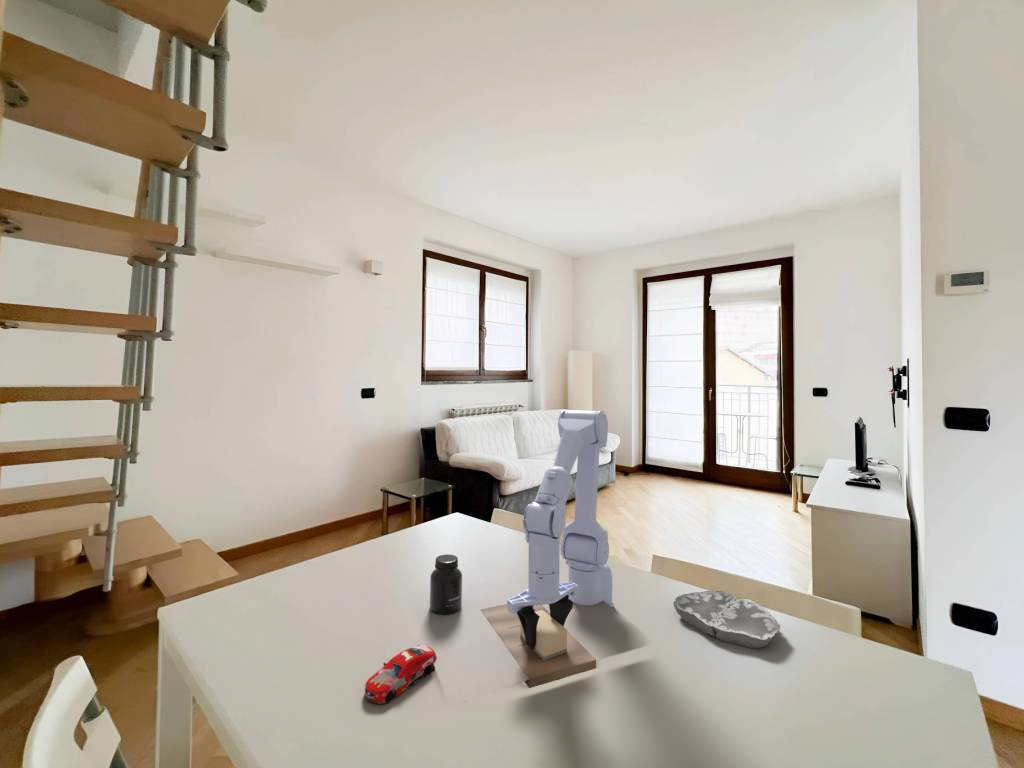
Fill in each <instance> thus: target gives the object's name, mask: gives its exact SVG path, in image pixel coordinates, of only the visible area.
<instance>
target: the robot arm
mask: <svg viewBox="0 0 1024 768" xmlns="http://www.w3.org/2000/svg"><path fill="white" fill-rule="evenodd" d="M557 419H558V420H557V428H558V429H557V430H558V435H559V443H558V447H557V451H556V455H555V458H554V462H553V466H552V467H550V468H548V469H546V470H545V472H544V474H543V477H542V480H541V483H540V485H539V488H538V490H537V494H536V497H535V498H534V501H532V502H531V503H529V504H528V505H526V508H525V510H524V513H523V518H522V528H523V531H524V533H525V542H526V543H527V544H528V571H527V572H528V575H527V576H528V577H527V578H528V581H527V583H528V588H527V589H525V590H523V591H522V592H520V593H518V594H516V595H514V596H513V597H510V598H507V599H506V604H507V610H508V611H509V612H510V613H511V614H516V613H517V615H518V617H519V619H520V622H521V624H522V627H523V631H524V635H525V639H526V644H527V645H528V646H529V647H530V648H531V649H535V646H536V630H537V624H538V620H539V617H540V616H539V615H537V614H536V613H535V609H533V606H536V605H542V606H544V605H548V607H549V613H550V616H551V617H552V618H553V619H554V620H556V621H557V622H558V623H559V624H561V625H562V626H563V627H564V628H565V623H566V621H567V618H568V616H569V614H570V612H571V611H572V609H573V607H574V604H576V605H581V606H594V605H597V604H599V603H601V602H604V603H605V604H606V605H608V606H609V607H610V608H614V607H615V604H614V602H613V573H612V569H611V567H610V566H609V564H608V560H609V555H610V554H609V553H610V544H609V534H608V530H607V529H605V528H604V526H602V525H601V524H600V523H599V522H598V521H597V511H598V510H597V506H598V505H597V504H598V489H599V488H598V485H599V484H598V483H599V463H600V460H599V459H600V453H601V452H600V451H601V449H603V448H606V447H607V443H608V434H609V433H608V431H609V429H608V428H609V423H608V422H609V420H608V417H607V415H606V413H605V411H604V410H601V409H600V410H582V409H580V410H577V409H568V408H565V409H563V410H562V411H560V413H559V416H558V418H557ZM576 461H577V463H576ZM575 463H576V465H577V466H576V480H575V483H576V484H575V501H574V502H575V503H574V504H575V505H574V518H573V519H574V520H572V521H570V522H569V523H567V524H566V515H567V514H566V513H567V507H566V504H567V500H568V499H569V495H570V493H571V489H572V486H573V484H574V483H573V481H574V480H573V478H572V475H571V471H572V470H573V467H574V466H575ZM561 536H562V538H561V541H560V537H561ZM560 555H561V556H562V559H564V560H565V565H568V582H560Z"/></svg>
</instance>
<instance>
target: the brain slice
mask: <svg viewBox="0 0 1024 768" xmlns="http://www.w3.org/2000/svg"><path fill="white" fill-rule="evenodd" d="M673 607H674V609H675V612H676V613H677V614H678V615H679V616H680V617H681V619H682V620H683V621H684V622H685V623H688V625H690V626H693V627H694V628H696V629H697V630H699V631H701V632H702V633H704V634H706V635H708V636H711V637H714V638H716V639H718V640H719V641H722V642H725V643H730V644H735V645H738V646H741V647H745V648H751V649H760V648H763V647H765V646H767V644H770V642H771V641H772V640H773V639H774V638H775V636H776V634H777V633H778V632H779V631H780V630H781V624H779V623H778V622H777V619H776V618H775V617H774V616H773V615H772V614H771V612H769V611H768V610H767V609H766V608H764V606H763V605H761V604H759V603H758V602H755V601H754V600H752V599H750V598H747V597H738V598H737V596H736V595H733V594H731V593H728V592H725V591H718V590H717V591H713V590H705V591H702V592H699V591H698V592H697V591H696V592H692V593H690V592H689V593H683V594H682V595H679V596H677V597H676V598H675V600H674V601H673Z"/></svg>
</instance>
